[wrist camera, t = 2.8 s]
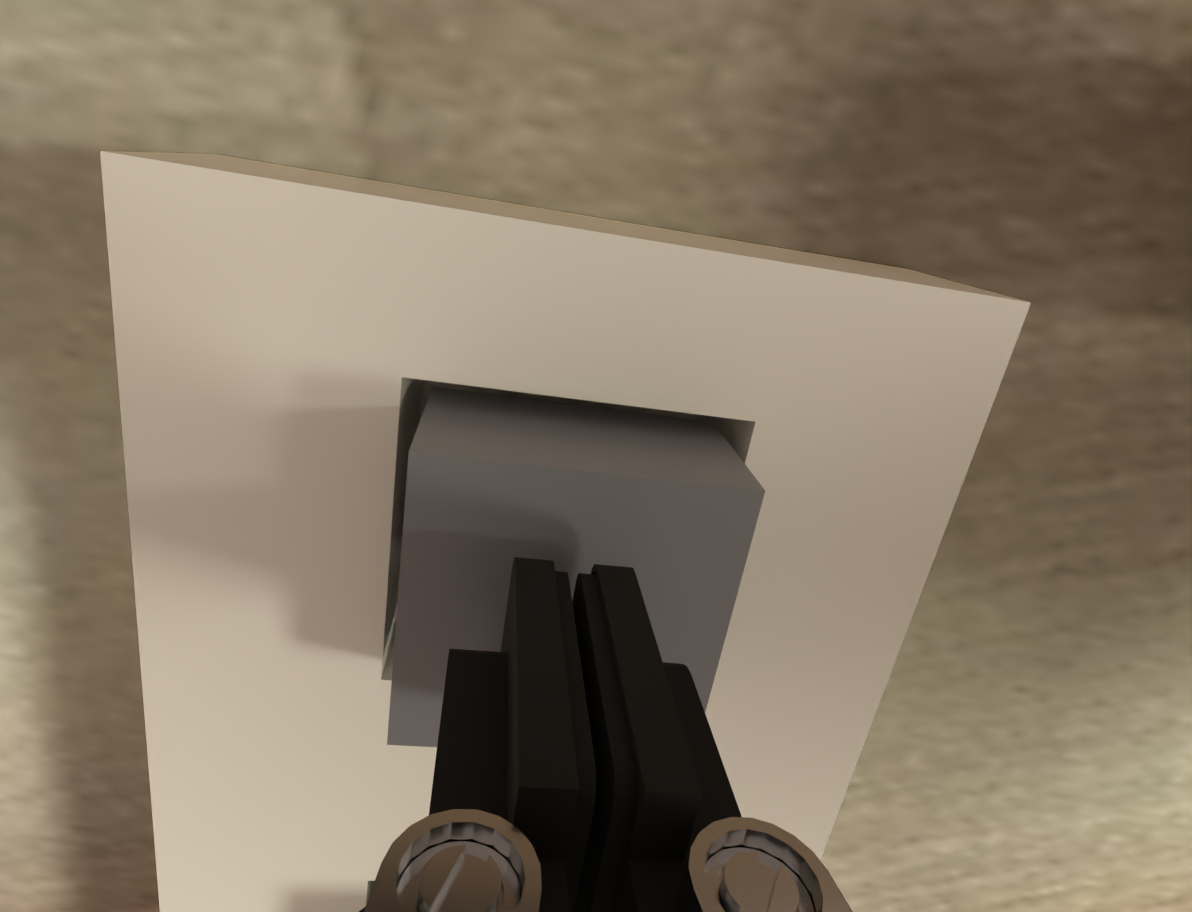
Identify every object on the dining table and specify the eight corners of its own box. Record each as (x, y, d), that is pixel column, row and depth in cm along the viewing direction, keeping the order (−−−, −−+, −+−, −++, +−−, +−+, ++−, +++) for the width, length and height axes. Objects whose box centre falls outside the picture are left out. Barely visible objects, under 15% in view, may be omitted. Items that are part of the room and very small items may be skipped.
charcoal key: (712, 421, 13) (764, 490, 10) (659, 649, 15) (692, 759, 12) (432, 386, 12) (408, 451, 10) (412, 630, 14) (386, 744, 11)
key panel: (908, 269, 15) (1031, 302, 12) (693, 957, 23) (727, 1106, 20) (215, 153, 13) (99, 150, 10) (235, 956, 21) (176, 1123, 17)
